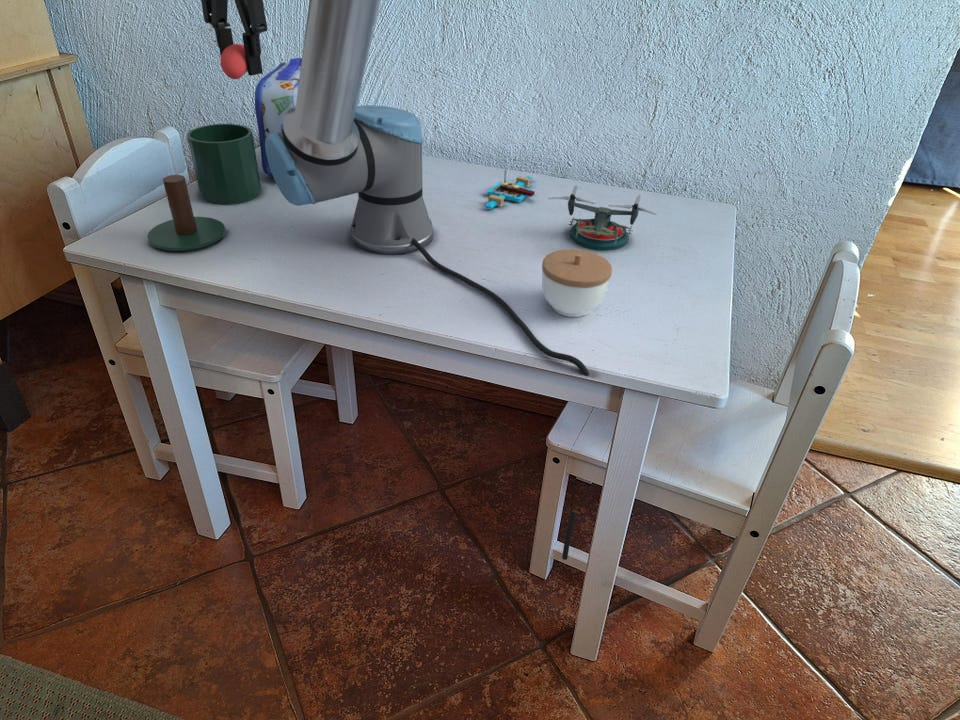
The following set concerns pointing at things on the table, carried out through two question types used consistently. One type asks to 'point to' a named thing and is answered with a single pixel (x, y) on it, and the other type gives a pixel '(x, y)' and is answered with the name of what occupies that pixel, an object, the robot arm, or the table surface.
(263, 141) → the lunch box
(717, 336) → the table surface
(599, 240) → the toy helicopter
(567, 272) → the trinket box
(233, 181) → the canister
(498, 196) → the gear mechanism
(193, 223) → the canister lid
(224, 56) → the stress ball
